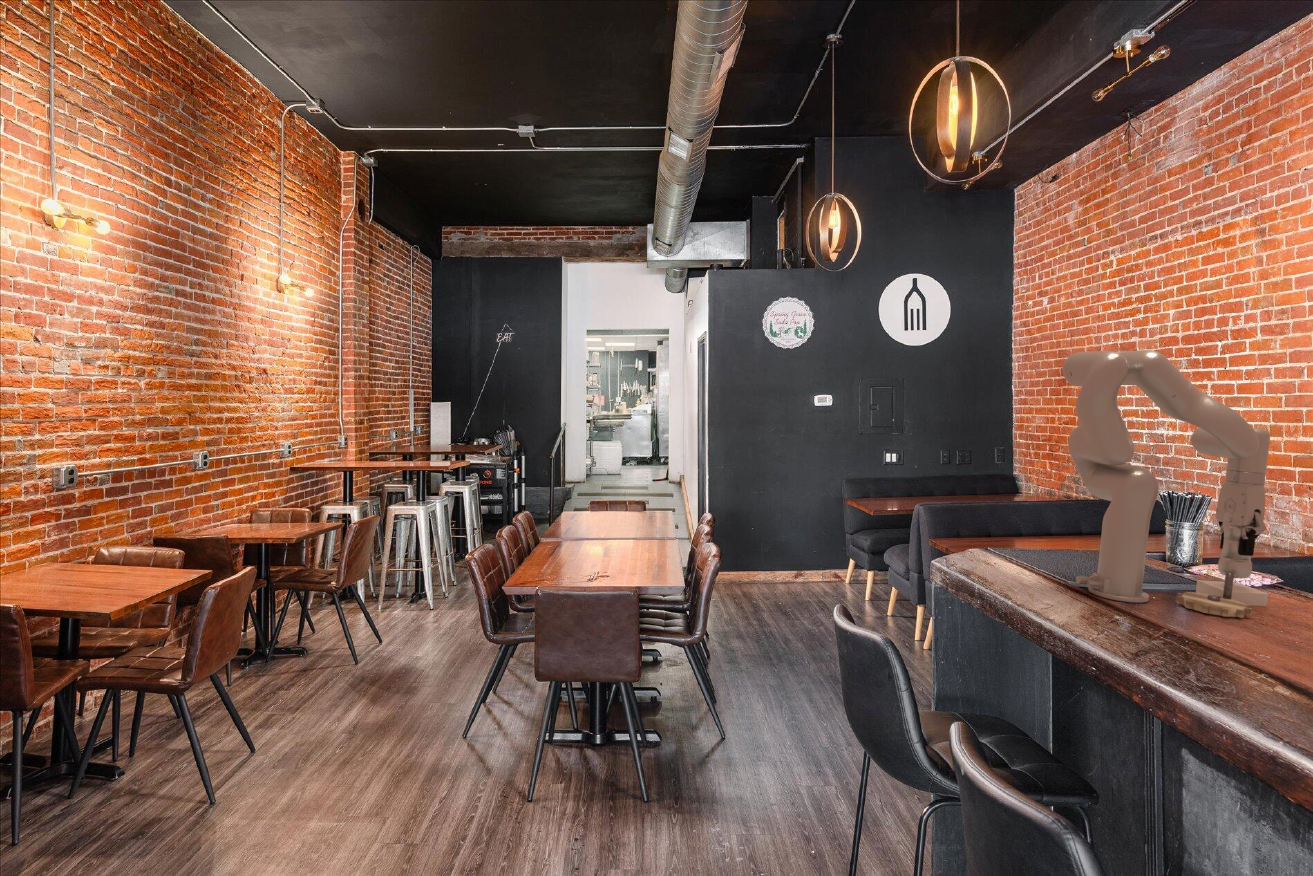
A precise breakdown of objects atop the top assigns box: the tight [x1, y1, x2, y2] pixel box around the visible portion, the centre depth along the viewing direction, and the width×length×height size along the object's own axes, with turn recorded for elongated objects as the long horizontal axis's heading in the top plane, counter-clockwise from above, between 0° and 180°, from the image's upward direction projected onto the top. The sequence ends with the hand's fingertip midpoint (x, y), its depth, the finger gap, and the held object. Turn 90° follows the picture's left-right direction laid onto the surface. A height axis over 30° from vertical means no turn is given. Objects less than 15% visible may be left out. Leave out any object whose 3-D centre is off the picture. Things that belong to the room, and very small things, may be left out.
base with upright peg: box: [1175, 572, 1253, 619], centre depth 174 cm, size 14×14×8 cm
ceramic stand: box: [1195, 579, 1270, 607], centre depth 185 cm, size 10×10×3 cm
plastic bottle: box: [1217, 512, 1253, 579], centre depth 184 cm, size 6×7×20 cm
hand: (1236, 551), depth 184 cm, fingers closed on plastic bottle, 5 cm apart
